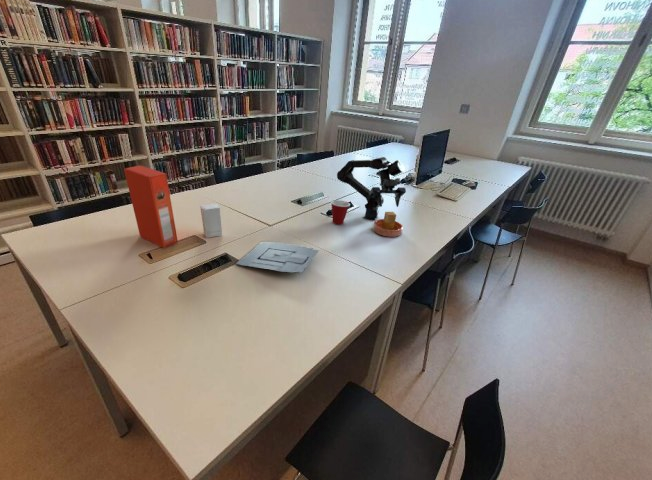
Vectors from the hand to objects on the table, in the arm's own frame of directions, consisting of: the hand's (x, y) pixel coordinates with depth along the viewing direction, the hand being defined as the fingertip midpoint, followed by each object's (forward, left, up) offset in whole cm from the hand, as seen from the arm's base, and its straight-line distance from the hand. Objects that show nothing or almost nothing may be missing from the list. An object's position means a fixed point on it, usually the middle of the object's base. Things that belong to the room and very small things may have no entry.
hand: (389, 206), depth 170 cm
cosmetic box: (-73, -55, -13) cm, 93 cm away
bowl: (+2, -2, -13) cm, 13 cm away
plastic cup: (-25, -6, -13) cm, 29 cm away
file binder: (-91, -72, -13) cm, 117 cm away
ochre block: (+2, -2, -13) cm, 13 cm away
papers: (-33, -60, -13) cm, 70 cm away
